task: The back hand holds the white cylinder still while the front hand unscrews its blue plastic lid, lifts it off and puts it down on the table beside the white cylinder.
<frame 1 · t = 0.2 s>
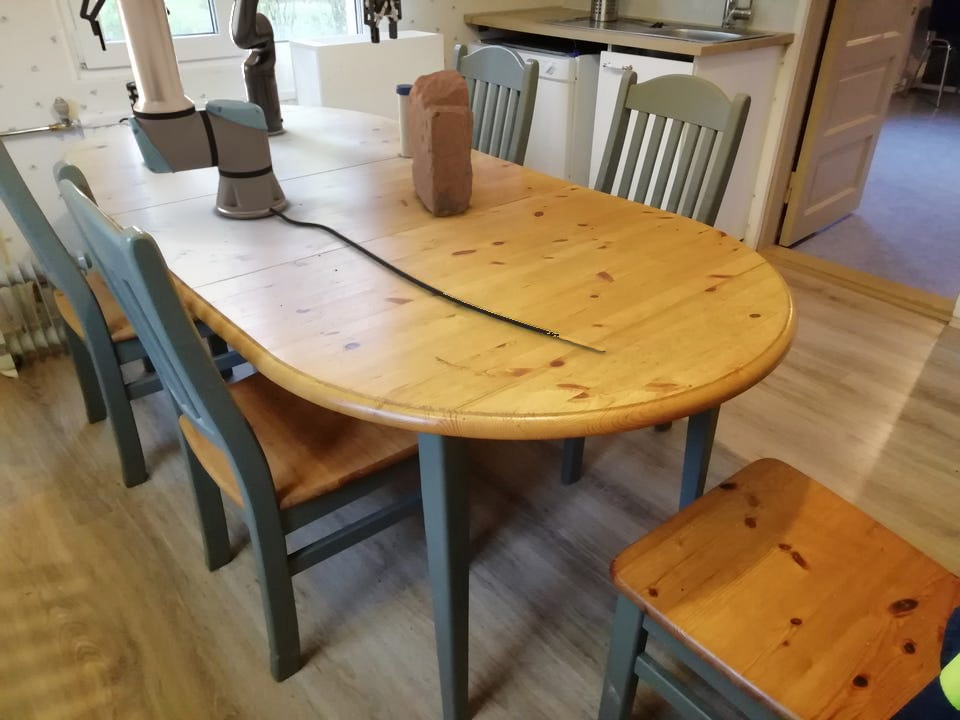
front hand: (133, 48, 174), 28 cm above the table, tool pointing down, fingers open, 13 cm apart
back hand: (384, 41, 181), 29 cm above the table, tool pointing down, fingers open, 8 cm apart
lid: (405, 87, 185), point 18 cm above the table, screwed on, not yet turned
stone: (443, 201, 163), on the table
white cylinder: (408, 155, 195), on the table
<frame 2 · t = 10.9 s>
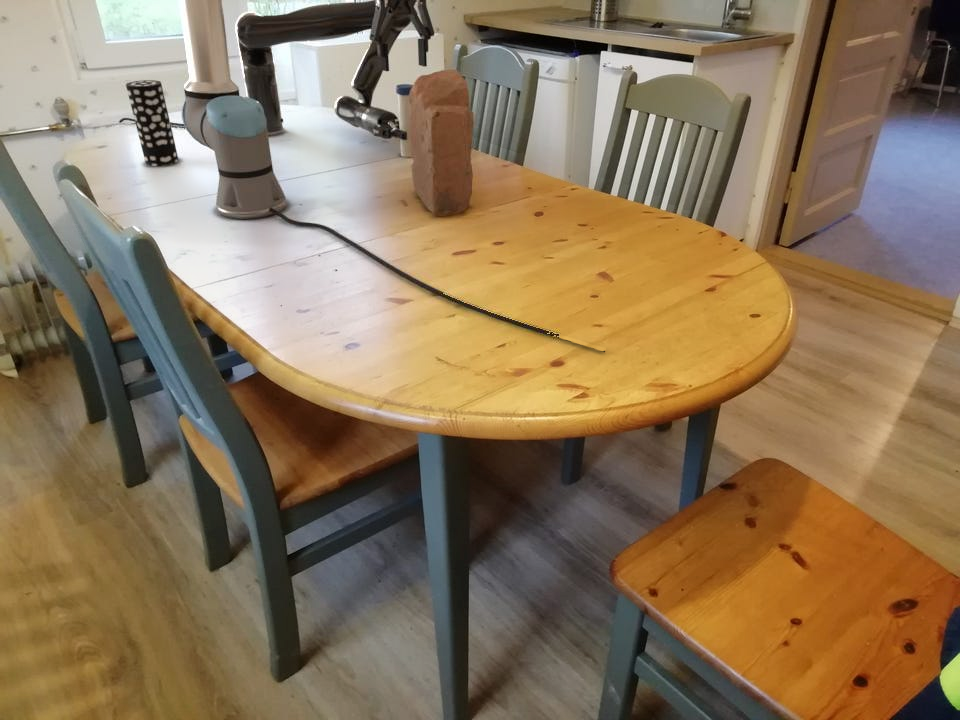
front hand: (404, 68, 182), 23 cm above the table, tool pointing down, fingers open, 11 cm apart
back hand: (412, 134, 189), 6 cm above the table, tool horizontal, fingers closed on white cylinder, 4 cm apart
white cylinder: (408, 155, 195), on the table, touching back hand
everything else where it was.
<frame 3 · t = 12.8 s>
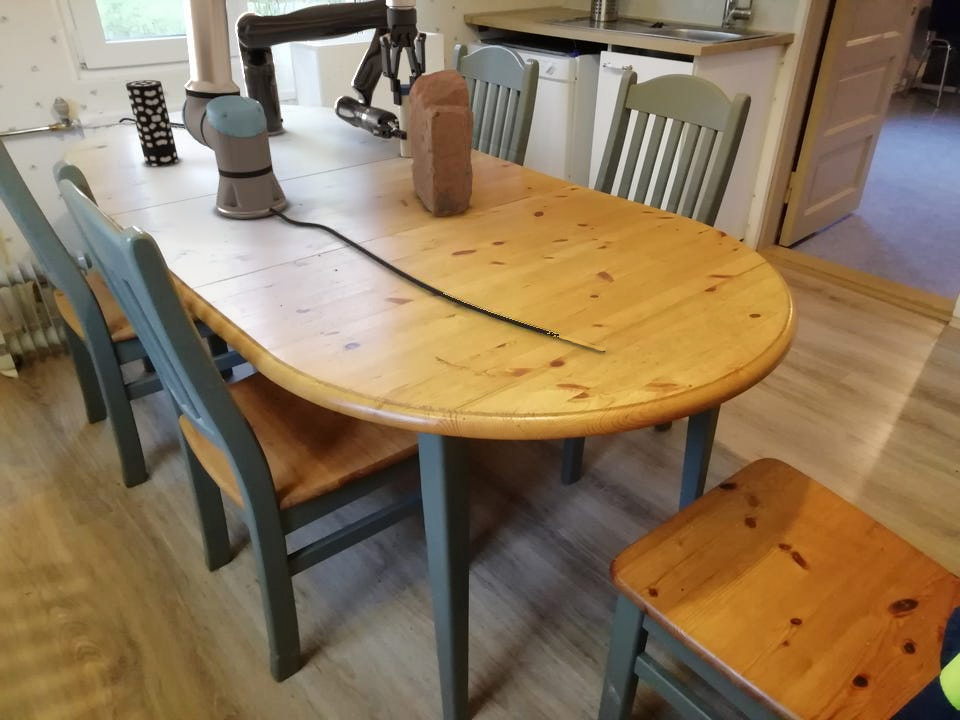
front hand: (405, 103, 187), 14 cm above the table, tool pointing down, fingers closed on lid, 5 cm apart
back hand: (412, 134, 189), 6 cm above the table, tool horizontal, fingers closed on white cylinder, 4 cm apart
lid: (405, 87, 185), point 18 cm above the table, screwed on, not yet turned, touching front hand
white cylinder: (408, 155, 195), on the table, touching back hand
everything else where it was.
when the front hand's fingers open (0 cm above the table, at t = 30.6 s): lid drops 3 cm, point 1 cm above the table.
when the back hand's fingers open (6 cm above the table, at t = 31.7 s): white cylinder stays where it is, on the table.
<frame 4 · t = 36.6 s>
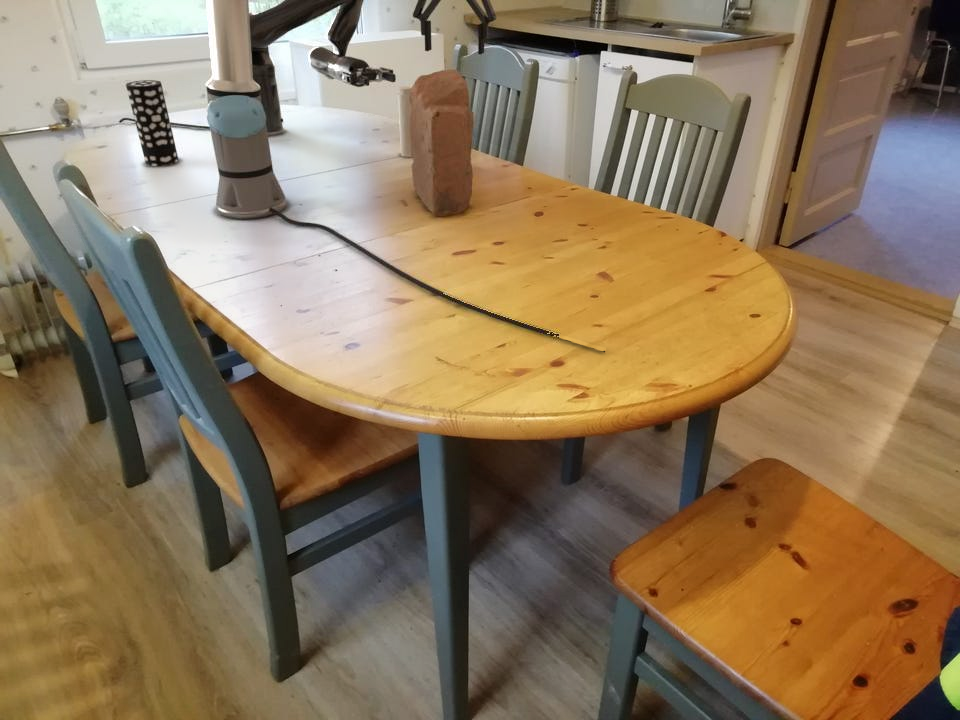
front hand: (454, 52, 169), 29 cm above the table, tool pointing down, fingers open, 13 cm apart
back hand: (381, 80, 193), 18 cm above the table, tool horizontal, fingers open, 8 cm apart
lid: (456, 163, 184), point 1 cm above the table, off its thread
white cylinder: (408, 155, 195), on the table
everything else where it was.
at the end: lid came off its thread; lid point 1.5 cm above the table; the front hand is holding nothing; the back hand is holding nothing; white cylinder tilted 0°; white cylinder moved 0.0 cm from its start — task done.
